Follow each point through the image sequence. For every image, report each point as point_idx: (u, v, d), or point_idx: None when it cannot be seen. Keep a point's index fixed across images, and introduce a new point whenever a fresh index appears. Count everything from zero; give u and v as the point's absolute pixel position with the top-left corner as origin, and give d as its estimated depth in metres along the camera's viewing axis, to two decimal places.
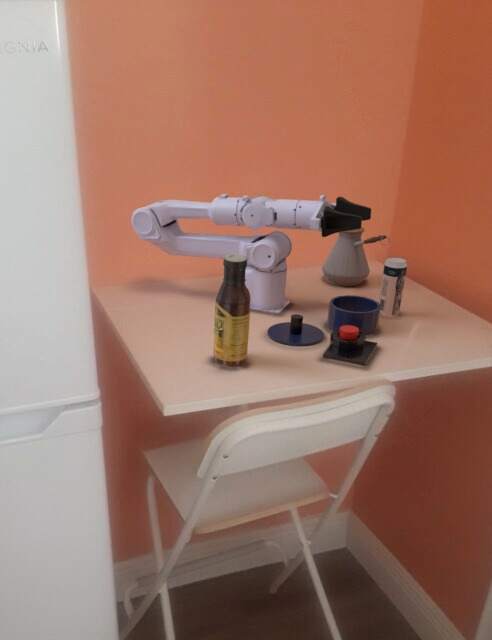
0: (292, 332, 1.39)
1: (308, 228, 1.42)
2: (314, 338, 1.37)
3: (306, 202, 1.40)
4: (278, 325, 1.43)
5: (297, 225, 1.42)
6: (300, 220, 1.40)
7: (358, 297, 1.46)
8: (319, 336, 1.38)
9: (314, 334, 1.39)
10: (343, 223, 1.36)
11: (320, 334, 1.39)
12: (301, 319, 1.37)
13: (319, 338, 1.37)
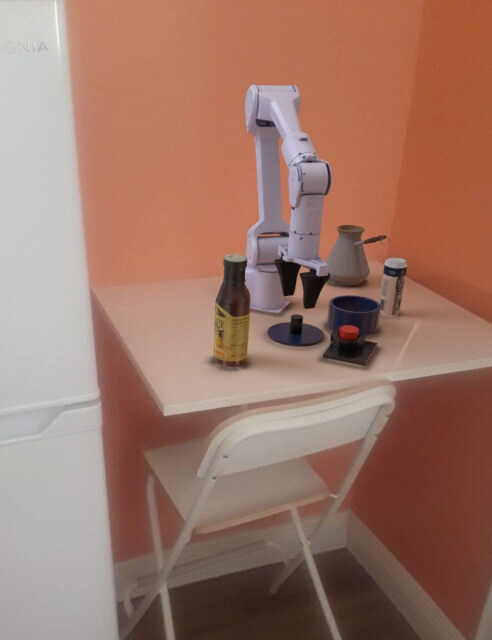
0: (292, 332, 1.39)
1: None
2: (314, 338, 1.37)
3: (289, 240, 1.30)
4: (278, 325, 1.43)
5: None
6: None
7: (358, 297, 1.46)
8: (319, 336, 1.38)
9: (314, 334, 1.39)
10: None
11: (320, 334, 1.39)
12: (301, 319, 1.37)
13: (319, 338, 1.37)
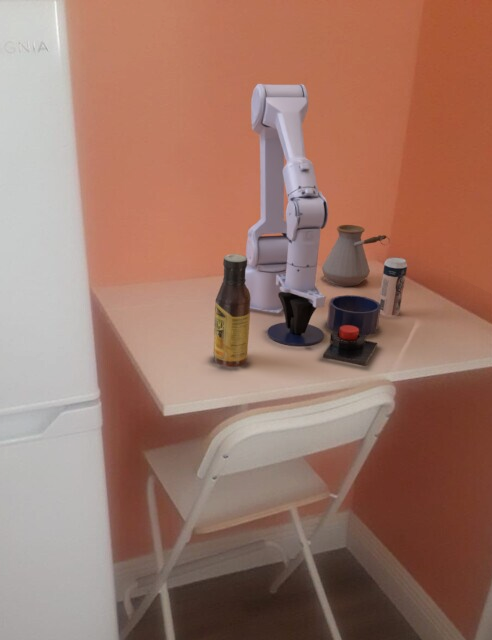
0: (292, 332, 1.39)
1: None
2: (314, 338, 1.37)
3: (286, 271, 1.33)
4: (278, 325, 1.43)
5: None
6: None
7: (358, 297, 1.46)
8: (319, 336, 1.38)
9: (314, 334, 1.39)
10: None
11: (320, 334, 1.39)
12: None
13: (319, 338, 1.37)
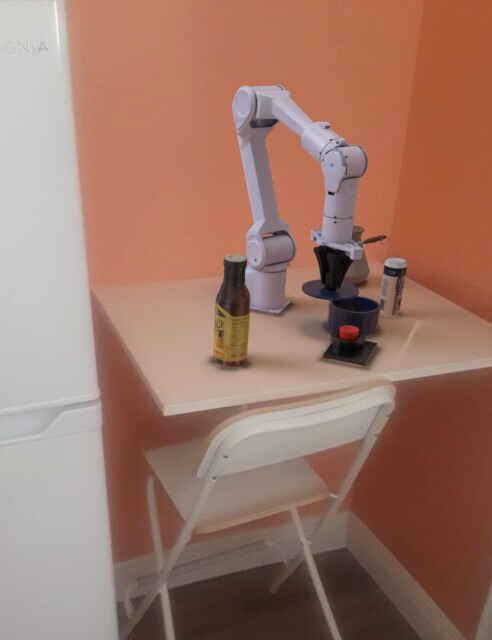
0: (327, 288, 1.37)
1: None
2: (350, 293, 1.36)
3: (323, 224, 1.31)
4: (312, 282, 1.41)
5: None
6: None
7: (358, 297, 1.46)
8: (354, 292, 1.37)
9: (349, 290, 1.37)
10: None
11: (356, 290, 1.37)
12: None
13: (355, 293, 1.36)
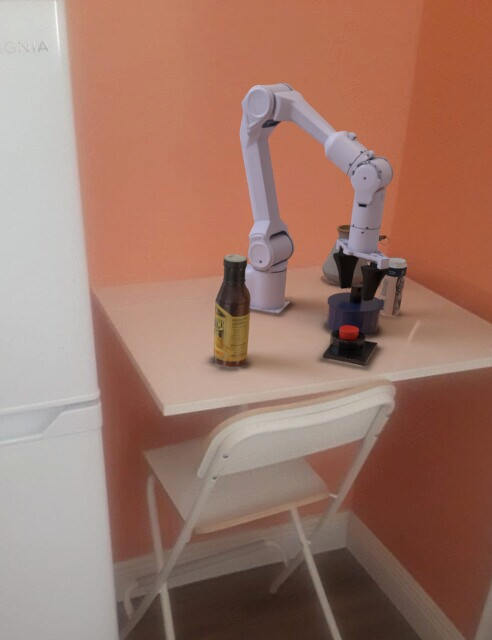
0: (352, 301, 1.41)
1: None
2: (374, 306, 1.40)
3: (350, 234, 1.35)
4: (337, 295, 1.45)
5: None
6: None
7: None
8: (379, 305, 1.41)
9: (374, 303, 1.42)
10: None
11: (380, 303, 1.42)
12: (361, 288, 1.40)
13: (379, 306, 1.40)
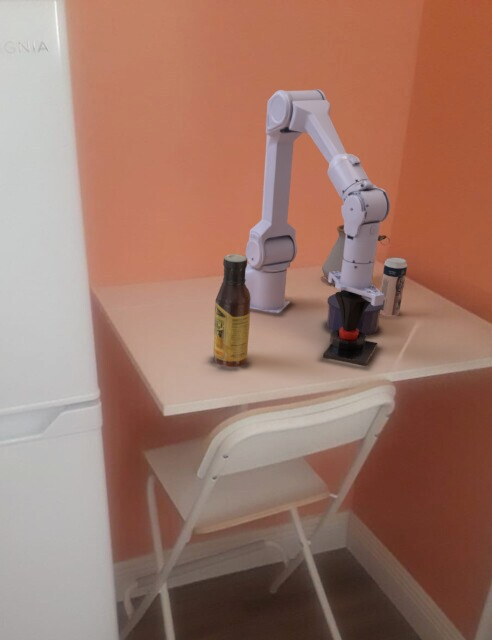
0: None
1: None
2: (374, 306, 1.40)
3: (342, 268, 1.27)
4: None
5: None
6: None
7: None
8: (379, 305, 1.41)
9: None
10: None
11: None
12: None
13: (379, 306, 1.40)
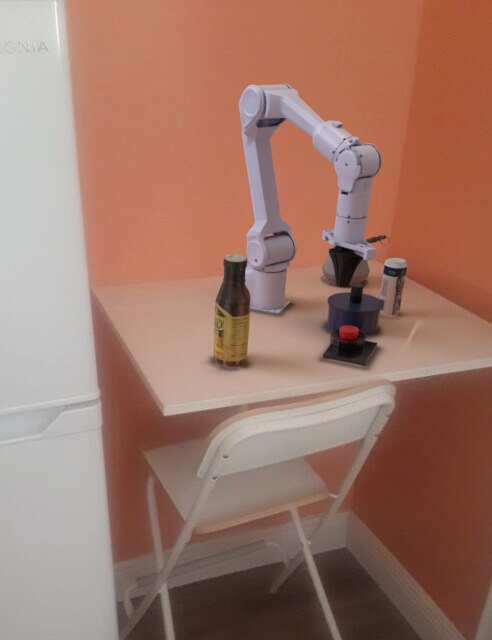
0: (352, 301, 1.41)
1: None
2: (374, 306, 1.40)
3: (335, 224, 1.30)
4: (337, 295, 1.45)
5: None
6: None
7: None
8: (379, 305, 1.41)
9: (374, 303, 1.42)
10: None
11: (380, 303, 1.42)
12: (361, 288, 1.40)
13: (379, 306, 1.40)
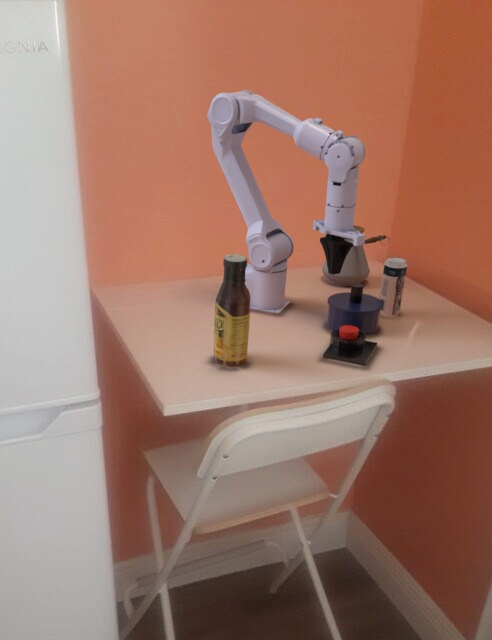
0: (352, 301, 1.41)
1: None
2: (374, 306, 1.40)
3: (325, 213, 1.37)
4: (337, 295, 1.45)
5: None
6: None
7: None
8: (379, 305, 1.41)
9: (374, 303, 1.42)
10: None
11: (380, 303, 1.42)
12: (361, 288, 1.40)
13: (379, 306, 1.40)
